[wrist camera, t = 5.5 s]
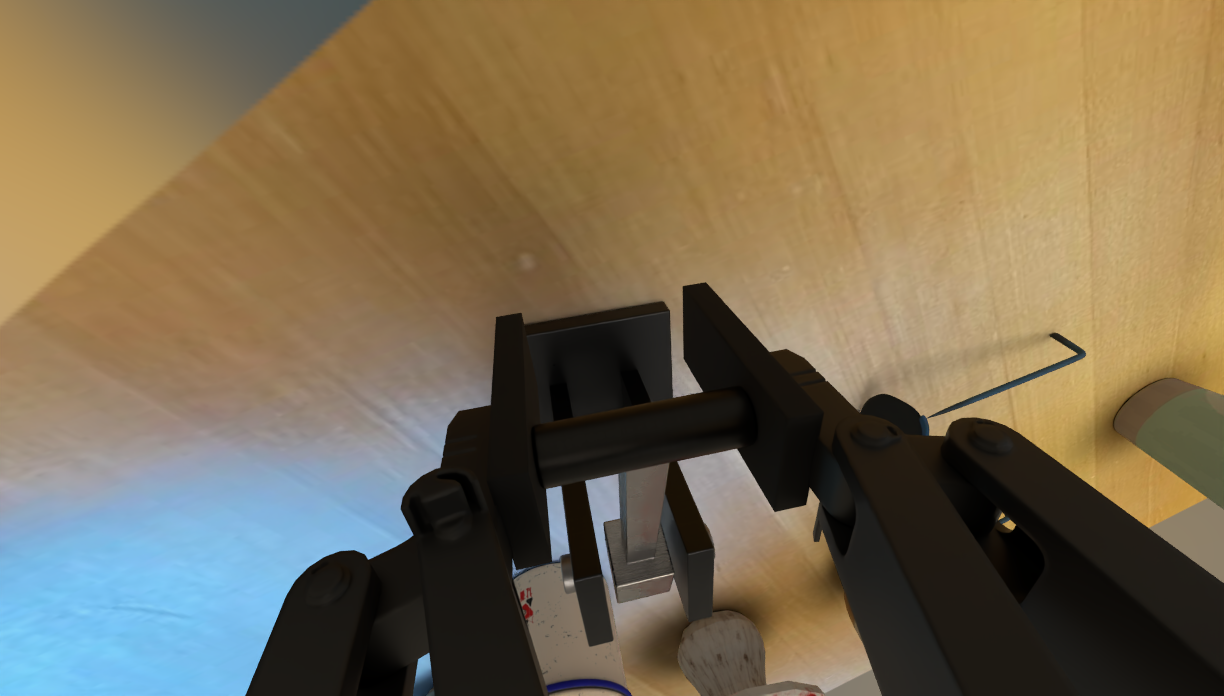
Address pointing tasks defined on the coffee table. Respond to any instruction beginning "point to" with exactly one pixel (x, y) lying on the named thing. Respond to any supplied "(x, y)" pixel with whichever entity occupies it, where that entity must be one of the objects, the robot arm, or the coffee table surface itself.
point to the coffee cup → (1179, 432)
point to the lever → (641, 469)
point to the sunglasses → (918, 425)
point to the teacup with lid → (568, 638)
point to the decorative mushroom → (731, 659)
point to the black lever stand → (601, 381)
